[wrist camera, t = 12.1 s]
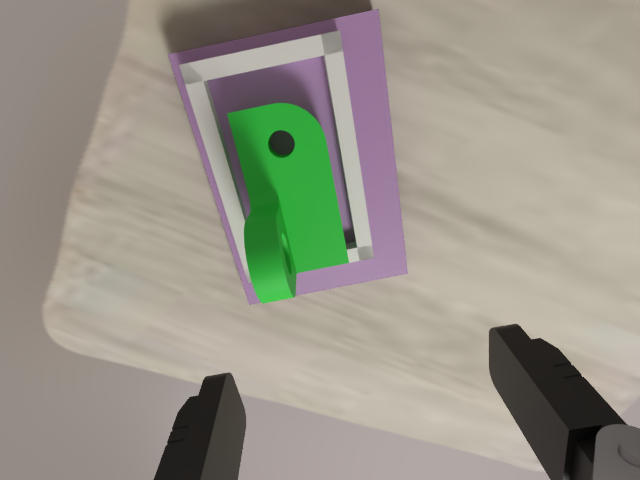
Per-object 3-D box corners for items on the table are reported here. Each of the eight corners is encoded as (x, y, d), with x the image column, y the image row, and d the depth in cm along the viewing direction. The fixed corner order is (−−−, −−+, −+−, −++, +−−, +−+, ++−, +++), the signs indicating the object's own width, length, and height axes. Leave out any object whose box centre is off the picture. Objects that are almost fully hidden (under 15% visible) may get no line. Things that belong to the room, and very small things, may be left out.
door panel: (373, 12, 26) (382, 6, 24) (402, 263, 35) (411, 280, 32) (175, 55, 27) (162, 53, 24) (251, 293, 35) (247, 312, 32)
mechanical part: (346, 253, 30) (360, 300, 23) (272, 268, 31) (262, 319, 23) (316, 95, 27) (321, 89, 19) (232, 113, 27) (204, 114, 19)
